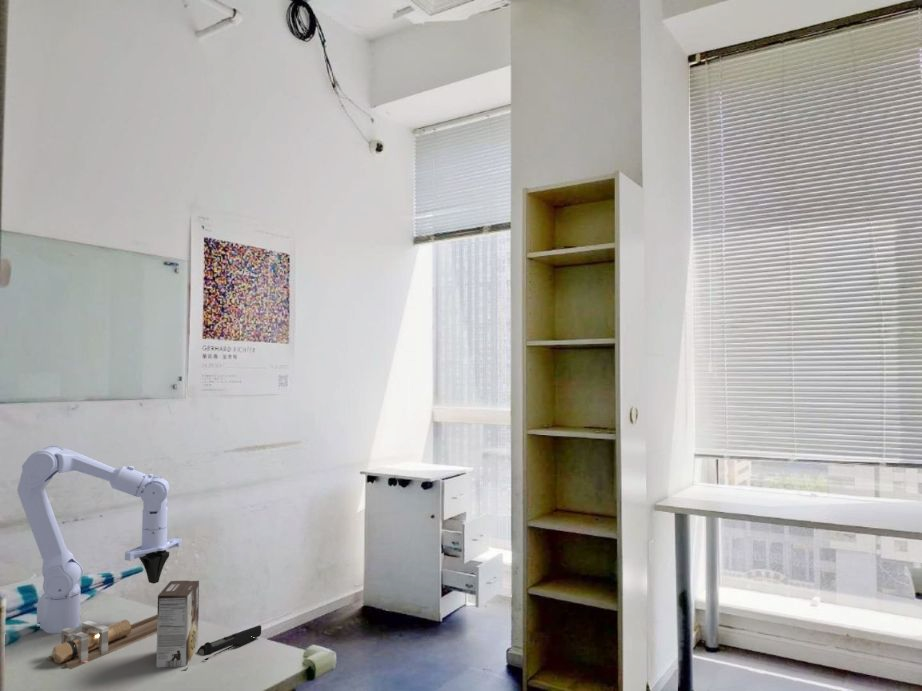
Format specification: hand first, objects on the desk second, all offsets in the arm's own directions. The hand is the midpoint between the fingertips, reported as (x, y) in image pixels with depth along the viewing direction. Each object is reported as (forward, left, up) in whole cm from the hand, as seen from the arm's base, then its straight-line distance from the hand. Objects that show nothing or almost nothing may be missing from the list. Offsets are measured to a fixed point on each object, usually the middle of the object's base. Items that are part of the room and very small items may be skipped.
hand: (153, 582), depth 161 cm
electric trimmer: (+27, -1, -10) cm, 29 cm away
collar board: (+4, -12, -10) cm, 16 cm away
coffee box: (+23, -11, -10) cm, 27 cm away
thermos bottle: (+4, -18, -9) cm, 20 cm away
